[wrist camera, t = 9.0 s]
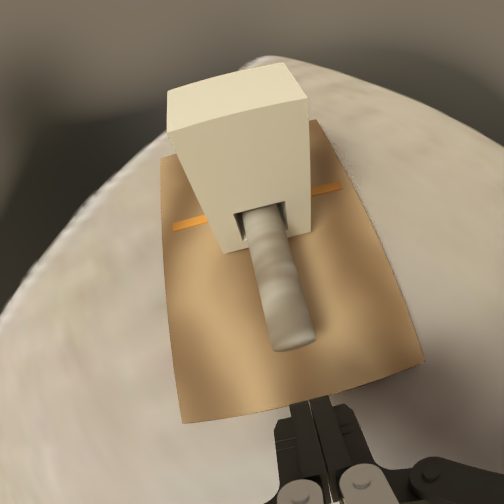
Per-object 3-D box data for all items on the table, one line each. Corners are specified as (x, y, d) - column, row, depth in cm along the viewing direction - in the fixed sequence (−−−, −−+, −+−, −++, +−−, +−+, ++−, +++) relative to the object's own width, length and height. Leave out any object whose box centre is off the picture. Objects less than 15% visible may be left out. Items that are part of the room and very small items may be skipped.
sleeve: (295, 190, 24) (283, 62, 15) (310, 232, 22) (307, 98, 13) (215, 210, 25) (167, 91, 15) (223, 253, 23) (167, 132, 13)
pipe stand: (316, 128, 30) (314, 68, 24) (419, 364, 18) (466, 339, 12) (164, 166, 31) (137, 113, 25) (188, 423, 19) (137, 423, 13)
